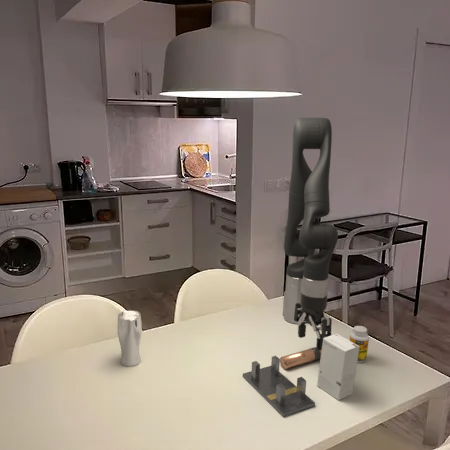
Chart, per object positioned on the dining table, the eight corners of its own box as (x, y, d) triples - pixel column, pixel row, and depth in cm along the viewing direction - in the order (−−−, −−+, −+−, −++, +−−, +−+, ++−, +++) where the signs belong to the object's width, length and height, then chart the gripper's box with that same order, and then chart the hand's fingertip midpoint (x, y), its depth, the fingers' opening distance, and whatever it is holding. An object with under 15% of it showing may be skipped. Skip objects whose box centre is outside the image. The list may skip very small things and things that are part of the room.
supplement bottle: (352, 364, 140) (355, 333, 138) (345, 354, 146) (347, 324, 143) (369, 363, 141) (373, 332, 139) (361, 353, 146) (365, 324, 144)
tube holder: (242, 376, 132) (243, 357, 131) (271, 368, 137) (272, 350, 135) (283, 417, 115) (284, 396, 114) (315, 406, 120) (316, 385, 118)
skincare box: (316, 386, 128) (320, 337, 125) (331, 379, 132) (335, 331, 128) (339, 401, 122) (344, 350, 118) (355, 394, 125) (360, 344, 122)
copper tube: (288, 366, 134) (283, 354, 136) (283, 371, 137) (278, 359, 139) (333, 353, 142) (328, 342, 144) (327, 357, 145) (322, 346, 147)
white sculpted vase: (124, 370, 134) (123, 322, 130) (114, 359, 139) (113, 313, 136) (146, 362, 138) (145, 316, 134) (136, 352, 143) (135, 308, 140)
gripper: (289, 285, 138) (286, 335, 142) (320, 302, 126) (315, 356, 130) (309, 282, 142) (305, 331, 145) (341, 298, 129) (336, 351, 133)
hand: (310, 343), depth 137 cm, fingers open, 8 cm apart
